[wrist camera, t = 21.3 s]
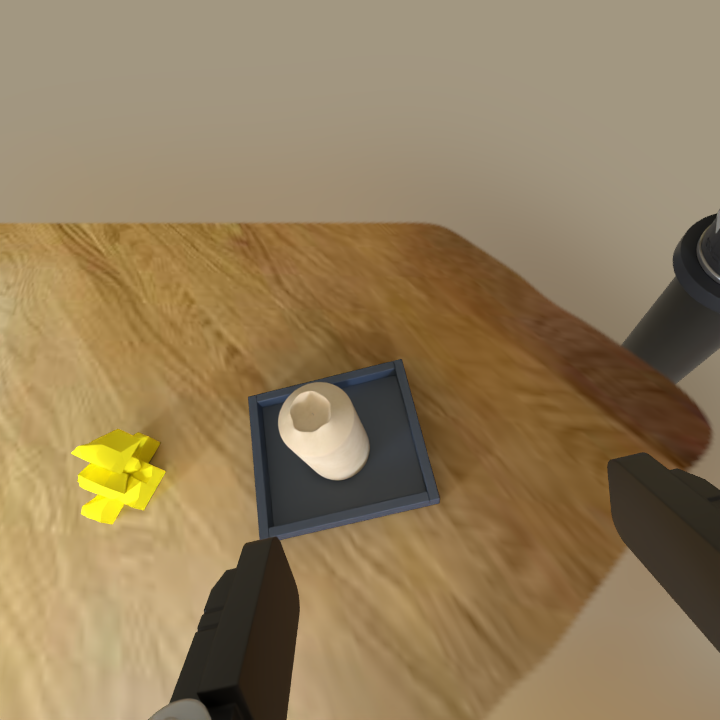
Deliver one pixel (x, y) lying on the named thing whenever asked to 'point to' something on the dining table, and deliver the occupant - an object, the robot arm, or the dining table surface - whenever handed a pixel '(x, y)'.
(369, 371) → the tray
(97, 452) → the crumpled paper
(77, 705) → the dining table surface
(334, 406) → the candle
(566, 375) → the dining table surface
